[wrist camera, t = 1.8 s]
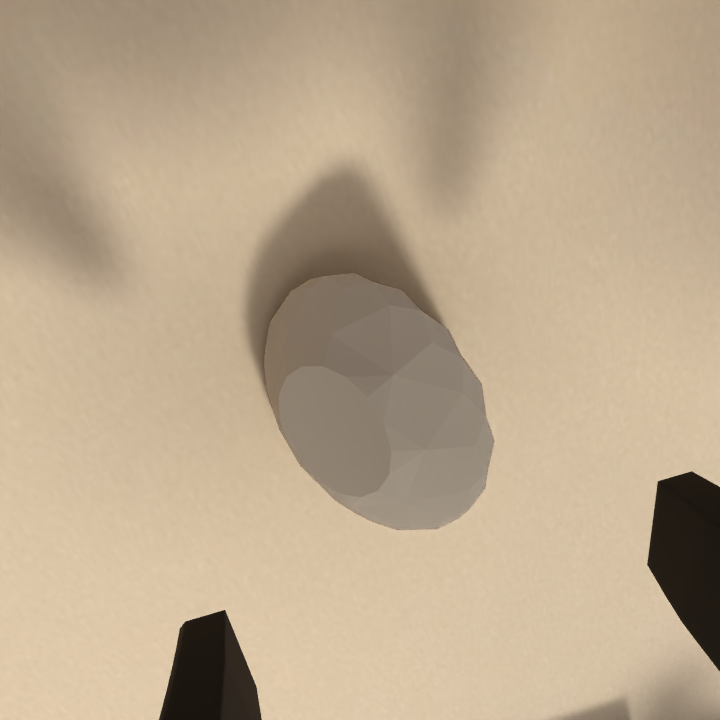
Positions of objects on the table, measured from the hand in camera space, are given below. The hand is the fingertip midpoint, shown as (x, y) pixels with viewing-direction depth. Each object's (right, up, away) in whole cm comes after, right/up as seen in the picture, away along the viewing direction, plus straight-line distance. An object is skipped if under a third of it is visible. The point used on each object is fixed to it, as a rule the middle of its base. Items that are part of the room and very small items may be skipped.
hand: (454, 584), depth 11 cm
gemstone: (-2, +4, +6) cm, 8 cm away
